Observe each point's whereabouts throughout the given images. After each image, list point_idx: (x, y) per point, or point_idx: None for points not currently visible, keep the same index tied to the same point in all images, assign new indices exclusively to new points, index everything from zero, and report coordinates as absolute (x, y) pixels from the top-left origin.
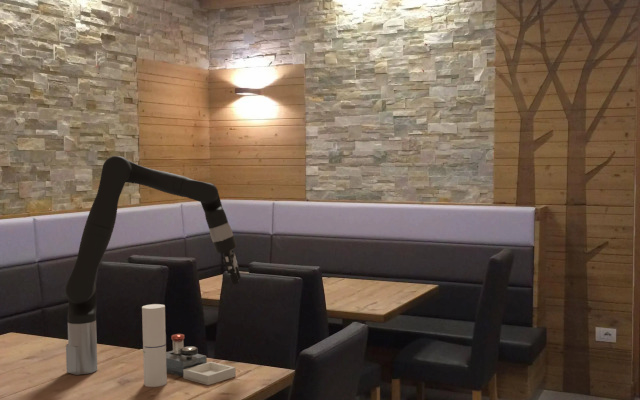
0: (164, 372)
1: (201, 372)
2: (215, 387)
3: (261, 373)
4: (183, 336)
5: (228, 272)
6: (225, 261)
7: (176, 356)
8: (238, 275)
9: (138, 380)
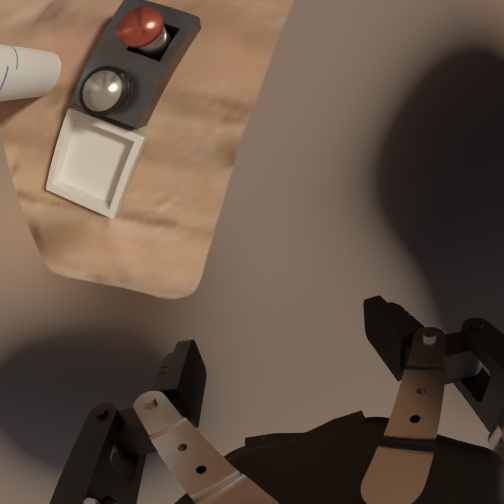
0: (23, 98)
1: (107, 131)
2: (50, 202)
3: (156, 254)
4: (134, 45)
5: (93, 416)
6: (63, 501)
7: (117, 52)
8: (374, 338)
9: (58, 29)
